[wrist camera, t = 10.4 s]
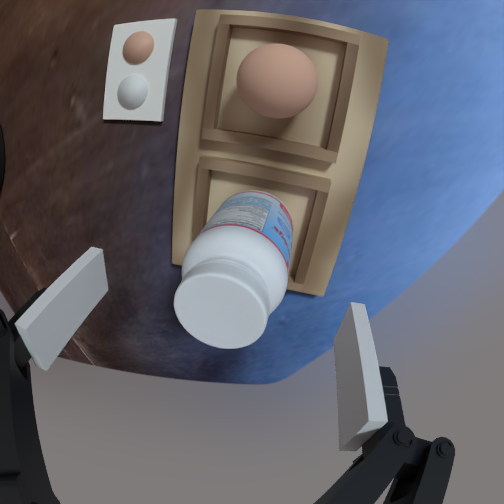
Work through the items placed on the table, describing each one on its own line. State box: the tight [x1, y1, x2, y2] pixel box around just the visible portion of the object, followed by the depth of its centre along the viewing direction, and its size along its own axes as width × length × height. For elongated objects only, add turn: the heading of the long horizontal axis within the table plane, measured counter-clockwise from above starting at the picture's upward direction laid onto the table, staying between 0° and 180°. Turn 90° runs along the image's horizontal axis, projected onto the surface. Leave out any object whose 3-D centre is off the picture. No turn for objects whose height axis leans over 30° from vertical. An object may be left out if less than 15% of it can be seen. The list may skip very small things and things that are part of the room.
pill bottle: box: [174, 190, 293, 349], centre depth 19 cm, size 6×6×11 cm
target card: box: [103, 19, 177, 121], centre depth 19 cm, size 6×9×1 cm, turn 171°
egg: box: [236, 44, 318, 119], centre depth 16 cm, size 5×5×5 cm
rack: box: [172, 10, 389, 296], centre depth 21 cm, size 14×22×2 cm, turn 171°
